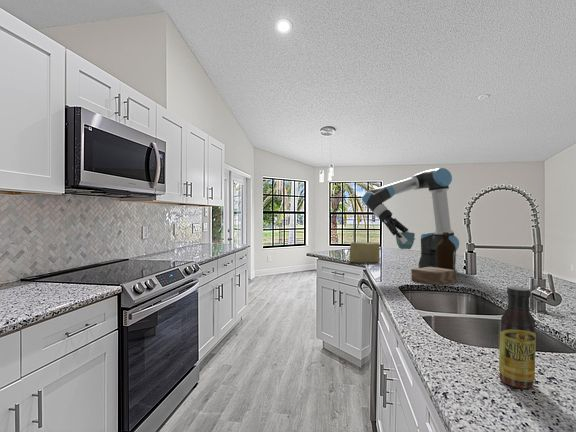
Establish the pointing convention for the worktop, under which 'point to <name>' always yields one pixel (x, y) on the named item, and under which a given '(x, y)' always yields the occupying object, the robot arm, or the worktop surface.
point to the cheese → (364, 252)
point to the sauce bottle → (517, 340)
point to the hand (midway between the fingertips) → (409, 241)
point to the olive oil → (446, 253)
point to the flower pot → (409, 243)
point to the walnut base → (434, 275)
